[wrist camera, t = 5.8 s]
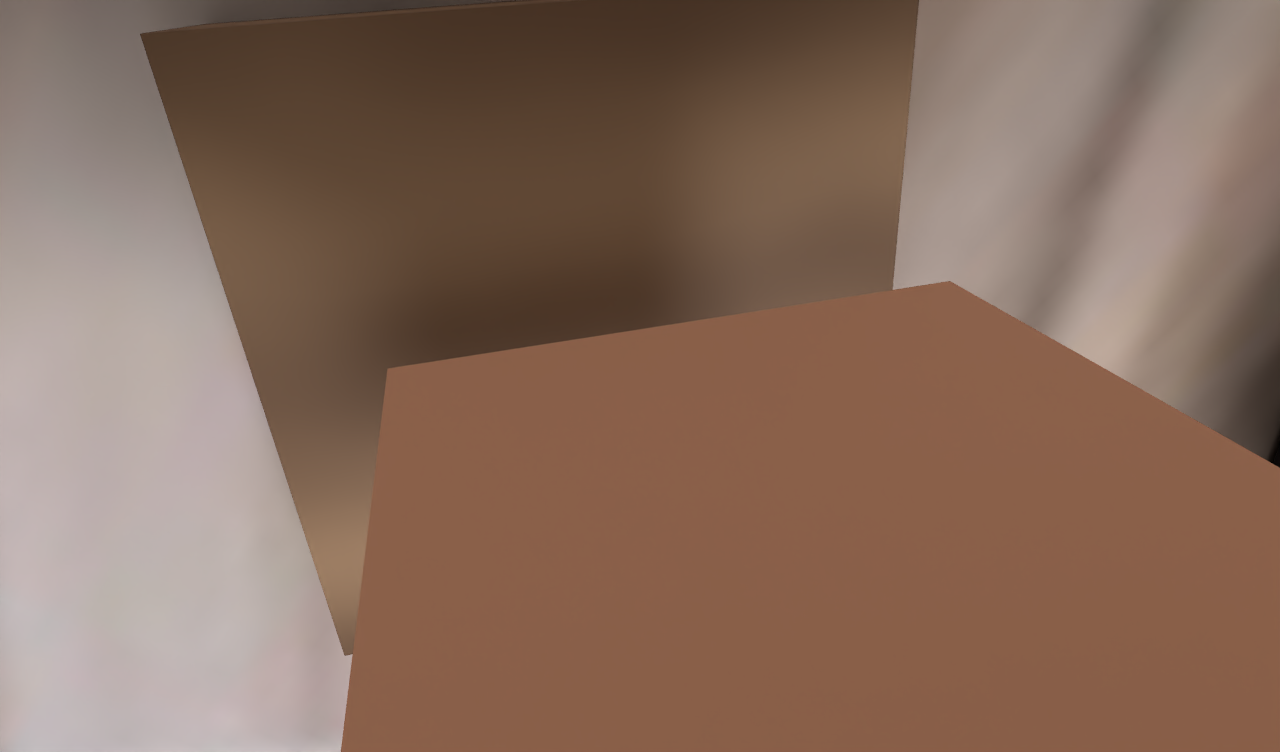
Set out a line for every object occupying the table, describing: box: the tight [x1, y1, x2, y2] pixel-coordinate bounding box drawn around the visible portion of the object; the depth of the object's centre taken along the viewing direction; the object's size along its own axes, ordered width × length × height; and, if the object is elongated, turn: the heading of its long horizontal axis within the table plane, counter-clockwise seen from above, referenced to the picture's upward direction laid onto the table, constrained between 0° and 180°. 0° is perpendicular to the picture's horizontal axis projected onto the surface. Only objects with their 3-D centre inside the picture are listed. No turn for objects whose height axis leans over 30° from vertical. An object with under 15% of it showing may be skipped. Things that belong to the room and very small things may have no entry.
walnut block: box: [140, 0, 919, 656], centre depth 16 cm, size 12×12×4 cm
